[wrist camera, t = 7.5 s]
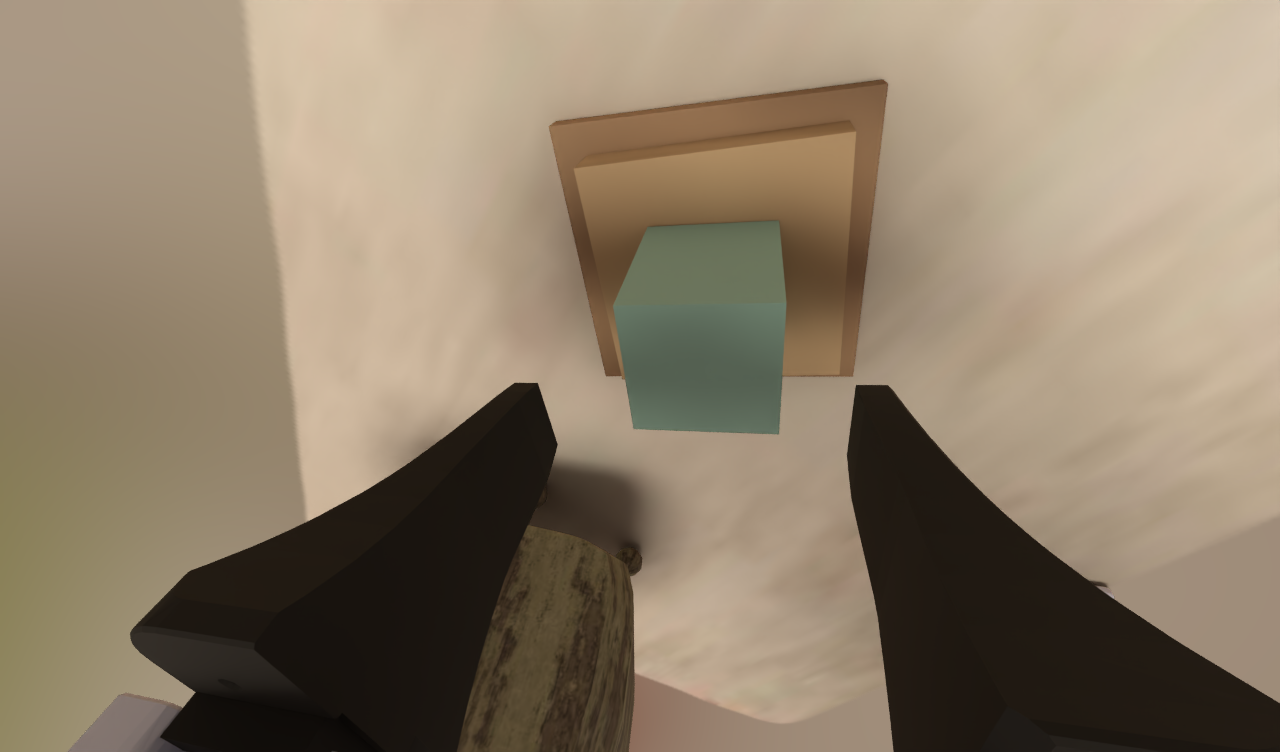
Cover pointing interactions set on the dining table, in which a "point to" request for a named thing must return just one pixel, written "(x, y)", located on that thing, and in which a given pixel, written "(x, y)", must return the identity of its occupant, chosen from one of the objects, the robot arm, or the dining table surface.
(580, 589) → the tabletop clock
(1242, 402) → the dining table surface
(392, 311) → the dining table surface
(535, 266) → the dining table surface
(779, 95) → the bottom slab
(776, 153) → the top slab
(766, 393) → the block
